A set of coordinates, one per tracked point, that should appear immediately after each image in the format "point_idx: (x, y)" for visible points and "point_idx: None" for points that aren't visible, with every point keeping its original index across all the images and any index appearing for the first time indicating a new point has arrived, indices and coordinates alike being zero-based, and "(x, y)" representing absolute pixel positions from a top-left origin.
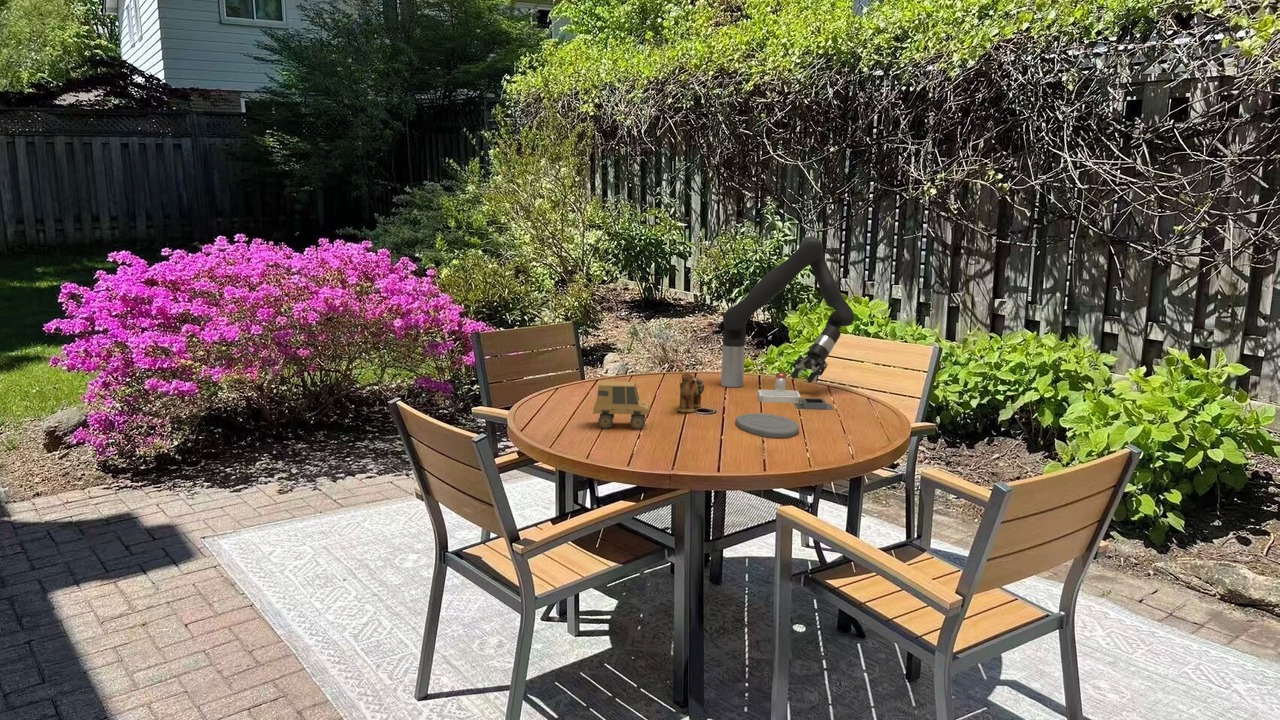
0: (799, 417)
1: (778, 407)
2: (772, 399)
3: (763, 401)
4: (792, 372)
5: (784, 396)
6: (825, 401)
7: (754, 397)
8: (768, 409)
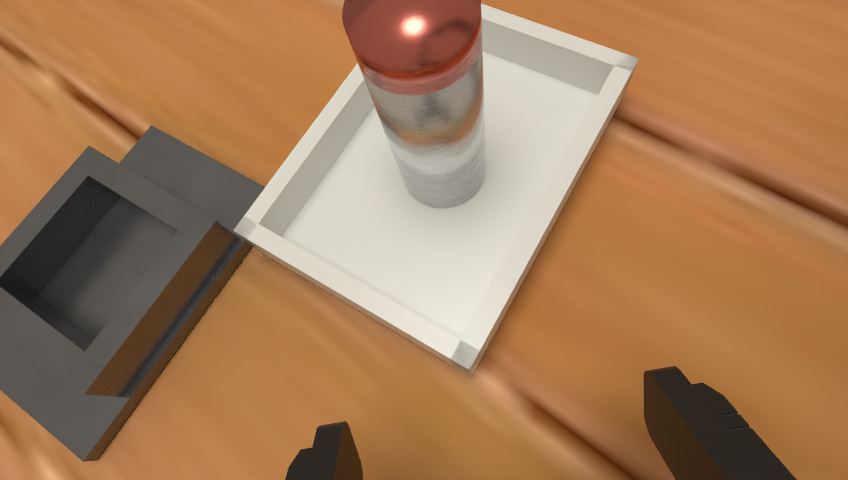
0: (52, 71)
1: (291, 80)
2: None
3: None
4: (740, 420)
5: (327, 123)
6: (11, 333)
7: None
8: (284, 8)
